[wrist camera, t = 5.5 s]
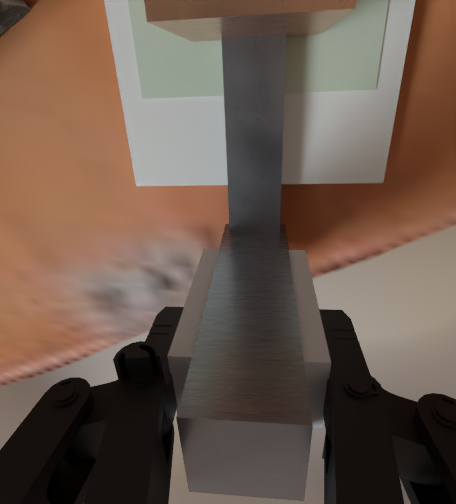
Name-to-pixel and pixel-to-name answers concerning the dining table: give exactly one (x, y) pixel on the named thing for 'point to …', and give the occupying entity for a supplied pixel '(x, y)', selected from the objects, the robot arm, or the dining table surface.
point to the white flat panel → (295, 97)
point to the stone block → (11, 13)
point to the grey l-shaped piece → (249, 263)
